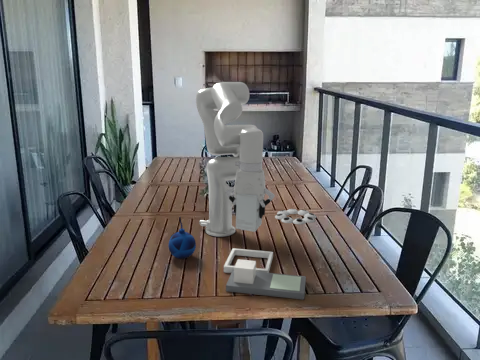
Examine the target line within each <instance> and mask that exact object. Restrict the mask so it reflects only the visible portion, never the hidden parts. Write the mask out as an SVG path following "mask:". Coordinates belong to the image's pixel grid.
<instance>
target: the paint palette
mask: <svg viewBox="0 0 480 360" xmlns="http://www.w3.org/2000/svg"><path fill="white" fill-rule="evenodd" d="M297 214H298V215H300V216H303V218H295V219H294V218H292V217H290V215H297ZM274 218H275V219H277V220H280V222H282V223H284V224H295V225H305V224H306V223H308V224H311V223H314V222H316V219H317V215H316V214H315V213H312V212H309V211H308V210H307V209H299V210H297V209H296V208H289V209H287V210H286V209H282V210H278V211H277V213H276V215H275V216H274Z"/></svg>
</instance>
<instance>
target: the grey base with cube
mask: <svg viewBox="0 0 480 360" xmlns="http://www.w3.org/2000/svg"><path fill="white" fill-rule="evenodd" d="M234 266H235V267H234V269H233V271H232V273H230V275H229V278H228V280H227V282H226V284H225V291H226V292H231V293H239V294H248V295H249V294H250V295H259V296H266V297H267V296H269V297H274V298H275V297H278V298H287V299H293V300H294V299H297V300H305V295H306V293H305V292H306V280H307V279H306V277H307V276H305V275H298V274H297V275H295V274H286V273H285V274H284V273H275V272H274V273H273V272H269V273H266V272H256V268H257V260H252V259H251V260H250V259H249V260H247V259H239V258H238V259H237V260H236V263H235V264H234Z"/></svg>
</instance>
